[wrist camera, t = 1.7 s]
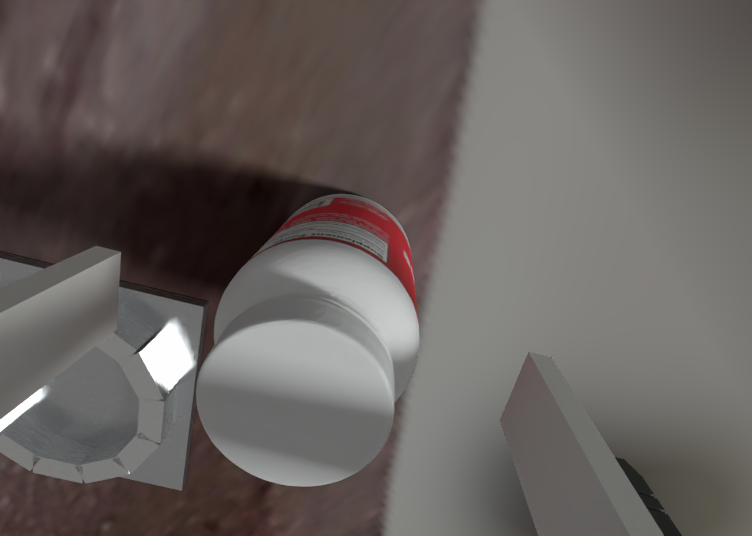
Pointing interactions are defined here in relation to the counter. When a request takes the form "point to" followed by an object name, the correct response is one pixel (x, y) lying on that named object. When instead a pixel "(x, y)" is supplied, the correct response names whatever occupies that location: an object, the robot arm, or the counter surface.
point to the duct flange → (116, 394)
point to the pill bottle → (313, 345)
